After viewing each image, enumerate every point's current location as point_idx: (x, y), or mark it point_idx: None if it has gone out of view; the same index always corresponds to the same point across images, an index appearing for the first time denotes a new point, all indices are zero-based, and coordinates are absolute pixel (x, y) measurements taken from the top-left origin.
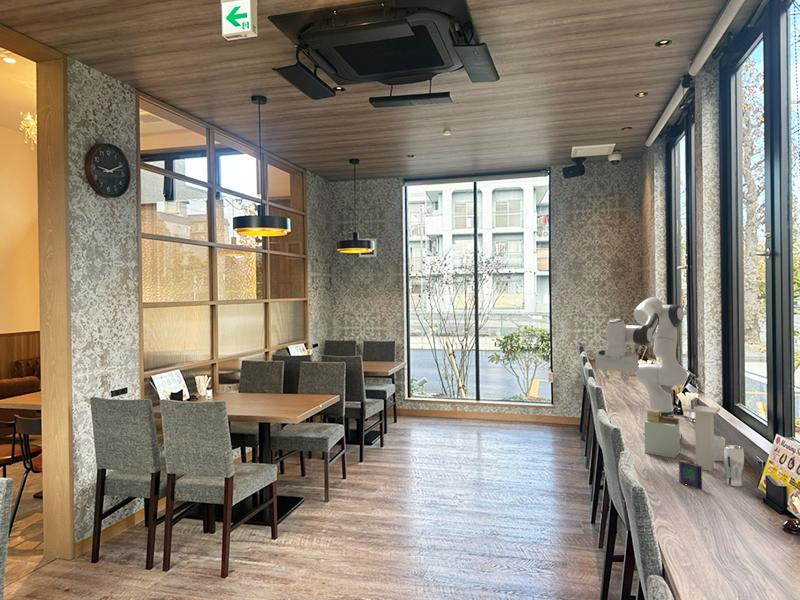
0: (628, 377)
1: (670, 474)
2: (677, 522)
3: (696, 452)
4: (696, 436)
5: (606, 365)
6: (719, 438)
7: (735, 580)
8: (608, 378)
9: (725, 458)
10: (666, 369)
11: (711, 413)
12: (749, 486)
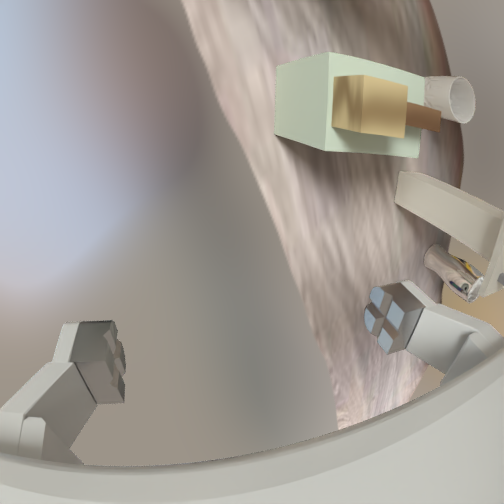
0: (426, 307)
1: (352, 279)
2: (352, 407)
3: (420, 216)
4: (449, 233)
5: None
6: (463, 81)
7: None
8: (115, 341)
9: (452, 290)
10: None
11: None
12: (446, 248)
